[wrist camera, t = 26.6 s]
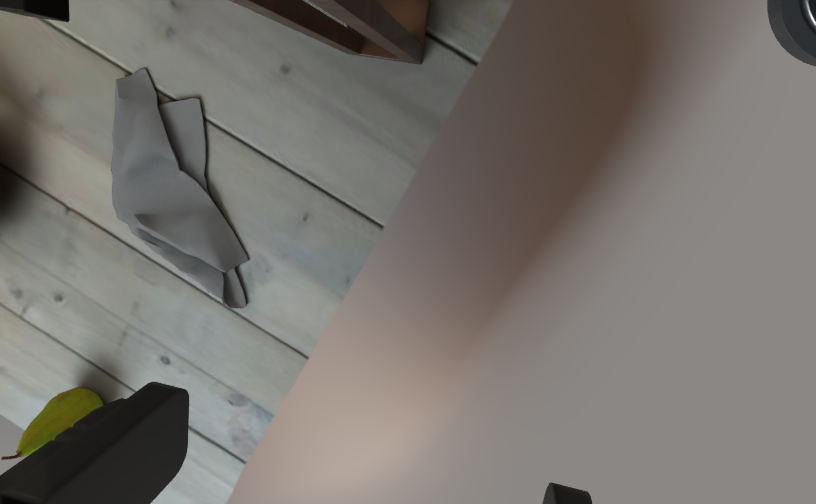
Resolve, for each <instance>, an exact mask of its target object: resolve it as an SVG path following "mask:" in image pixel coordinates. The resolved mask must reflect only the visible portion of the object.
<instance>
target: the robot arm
mask: <svg viewBox="0 0 816 504" xmlns="http://www.w3.org/2000/svg"><path fill="white" fill-rule="evenodd" d="M799 4H800V9H801V13H802V16H803V18H804V20H805V22H806V24H807V25H808V27H809V28H810V29H811V31H812V32H813V33H814V34H815V35H816V0H799ZM188 419H189V394H188V392H187V390H185V389H182V388H178V387H174V386H170V385H166V384H162V383H158V382H150V383H148V384H147V385H145V386H144V387H142V388H141V389H140V390H138V391H137V392H136V393H134V394H133V395H132V396H130V397H129V398H128V399H123V398H121V399H118V400H116V401H114V402H111V403H109V404H106V405H104V406H101V407H99V408H96V409H94V410H93V411H91V412H90V413H89V414H87V415H86V416H84V417H83V418H81V419H80V420H79V421H77V422H76V423H74V425H73V427H72V428H71V427H69V428H67V429H66V430H64V431H63V432H62V433H60V434H59V435H57V436H56V438H55V440H54V441H53V440H50V441H49V442H47V443H46V444H44V445H43V446H42V447H40V448H39V449H37V450H36V451H34V452H33V453H32V454H30V455H29V456H28V457H26V458H25V459H23V460H22V461H20V462H19V463H17V464H16V465H15V466H13V467H12V468H10V469H9V470H7V471H6V472H5V473H3V474H2V475H1V476H0V504H150V503H151V502H152V501H153V500H154V499H155V498H156V497H157V496H158V495H159V494H160V492H161V491H162V490H163V489H164V488H165V487H166V486H167V485H168V484H169V483H170V482H171V481H172V479H173V478H174V477H175V476H176V475H177V473H178V472H179V470H180V468H181V466H182V464H183V462H184V460H185V457H186V453H187V447H188ZM543 504H592V500H591V497H590V494H589V493H588V492H587V491H583V490H579V489H575V488H571V487H567V486H562V485H559V484H554V483H549V485H548V487H547V490H546V493H545V497H544V500H543Z"/></svg>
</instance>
